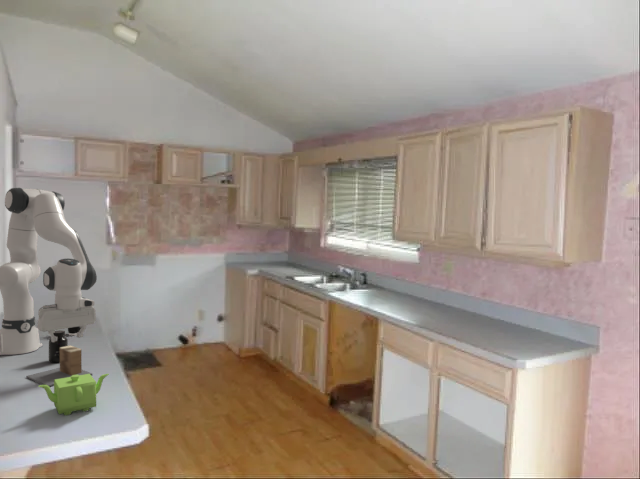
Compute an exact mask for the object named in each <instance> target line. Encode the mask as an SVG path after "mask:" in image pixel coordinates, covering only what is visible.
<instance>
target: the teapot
mask: <svg viewBox="0 0 640 479" xmlns="http://www.w3.org/2000/svg"><path fill="white" fill-rule="evenodd" d="M109 374H110V373H104V374H102V375H100V376H99V378H98V380H95V378H93V375H90V374H85V375H72V376H70V377H67V378H61V379H55V380H54V386H53V391H52V389H51V387H49V386H48V385H42V384H39V385H38V386H37V387H38V388H42V389H44V390H45V392H46V395H47V397H48V399H49V401H50V402H51V403H53V405H54V407H55V410H56V411H57V414H58V415H62V414H63V416H70V415H71V414H72V412H77V411H82V412H88V411H90V409H91V408H96V407H97V394H98V393H99V392H100V390H101V388H102V383H103V381H104V379H106V377H107V376H108V375H109Z"/></svg>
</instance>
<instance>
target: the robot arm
mask: <svg viewBox="0 0 640 479" xmlns="http://www.w3.org/2000/svg"><path fill="white" fill-rule="evenodd" d="M65 204H66V203H65V198H64V196H63V195H62V194H61V193H59V192H56V191H50V190H46V189H40V188H36V189H34V188H21V187H12V188H9V189H8V190H7V191H6V193H5V197H4V206H5V208H6V210H8V211H9V212H10V213H11V214H10V218H9V223H8V229H7V238H6V248H7V250H8V251H9V257H10V261H9V262H5V263H3V264H2V265H1V266H0V294H1V297H2V303H3V304H2V305H3V319H2V321H1V328H0V356H3V355H7V356H8V355H9V356H10V355H23V354H28V353H31V352H35V351H37V350H38V349H39V348H41V347H43V343H42V342H40V335H39V331H40V332H43V333H45V332H47V333H48V335H49V337H50V339H51V342H57V339H58V337H56V336H54V334H53V333H55V331H59V330H65V329H68V328H71V327H78V326H80V328H81V329H80V331H79V332H77V335H76V338H78V339H79V338H83V336H84V332H85V330H86V329H87V326H89V325H94V324H95V322H97V313H96V308H95V307H94V306H95V300H93V299H89V298H86V297H82V296H83V295H82V293H83V292H82V291H88V290H91V288H92V287H94V285H95V284H96V282H97V277H98V276H97V273H96V270H95V268H94V266H93V264H92V263H91V262H90V258H89V257H88V254H87V252H86V250H85V247H84V245H83V241H82V240H81V237H80V236H79V234H78V232H77V231H76V230H75V229H73V228H72V227H71V226H70V225H69V224H68V222H67V221H66V217H65V214H64V209H65ZM38 237H40V238H42V239H44V240H45V241H48V242H51V243H54V244H59V245H61V246H64V247H65V248H67V249H68V250H69V251H70V254H71V256H72V258H61V259H59V260H58V261H57V263H56V264H54V265H52V266H49V267H48V268H46V269H45V270H44V272H43V276H42V277H43V278H42V279H43V281H42V282H43V286H44V287H45V289H47V290H49V291H52V292H55V294H54V304H47V305H46V304H45V305H43V306H41V307H40V308H39V309H38V320H37V325H36V317H35V316H34V315H35V309H34V308H35V307H34V306H35V302H34V298H33V296H32V295H31V292H30V288H29V284H31V283H34V282H35V281H36V280H37V279H38V278H39V277H40V275H41V273H42V272H41V271H42V270H41V266H40V264H39V261H38V260H39V259H38V250H37V248H38ZM36 326H37V327H36Z"/></svg>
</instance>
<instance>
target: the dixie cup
mask: <svg viewBox="0 0 640 479" xmlns="http://www.w3.org/2000/svg"><path fill="white" fill-rule="evenodd" d="M80 329H81V328H80V326H78V327H71V328H67V332H68V335H69V336H77V332H79V331H80Z"/></svg>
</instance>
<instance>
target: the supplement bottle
mask: <svg viewBox="0 0 640 479" xmlns="http://www.w3.org/2000/svg"><path fill="white" fill-rule="evenodd" d="M53 334H54V336H56V337H58V339H57V342H51V338H49V339H48V362H49V363H52V364H60V347H65V346H69V344H68V342H69V341H68V340H69V339H68V338H67V337H65V336H66V331H65V330H63V329H58V330H55V333H53Z"/></svg>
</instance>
